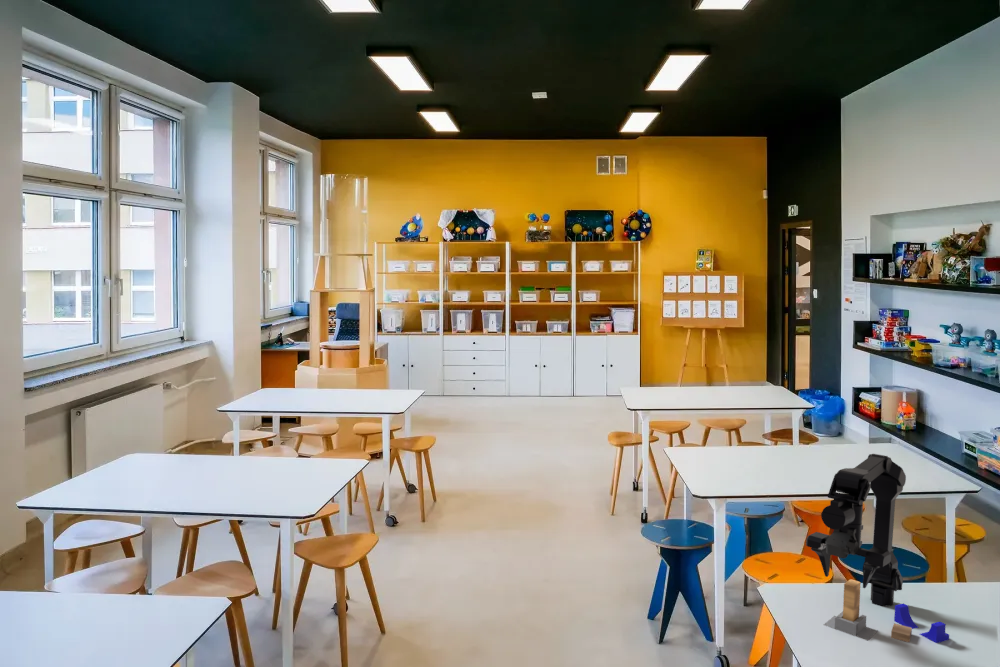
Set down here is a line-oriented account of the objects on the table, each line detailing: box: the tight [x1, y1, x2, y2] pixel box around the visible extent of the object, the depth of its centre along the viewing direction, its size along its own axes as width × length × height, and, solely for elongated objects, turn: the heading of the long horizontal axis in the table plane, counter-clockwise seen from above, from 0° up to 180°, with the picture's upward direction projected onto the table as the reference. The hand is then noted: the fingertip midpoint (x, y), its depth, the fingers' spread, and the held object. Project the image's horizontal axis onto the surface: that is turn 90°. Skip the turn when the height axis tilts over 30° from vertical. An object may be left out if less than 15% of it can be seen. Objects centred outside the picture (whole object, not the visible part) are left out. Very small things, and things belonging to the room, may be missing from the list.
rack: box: [823, 611, 879, 641], centre depth 187 cm, size 7×11×4 cm, turn 43°
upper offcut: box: [890, 622, 913, 643], centre depth 183 cm, size 5×4×2 cm
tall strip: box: [842, 578, 862, 622], centre depth 187 cm, size 4×2×12 cm, turn 133°
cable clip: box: [894, 603, 950, 644], centre depth 186 cm, size 12×4×6 cm, turn 21°
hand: (845, 581), depth 183 cm, fingers open, 9 cm apart
